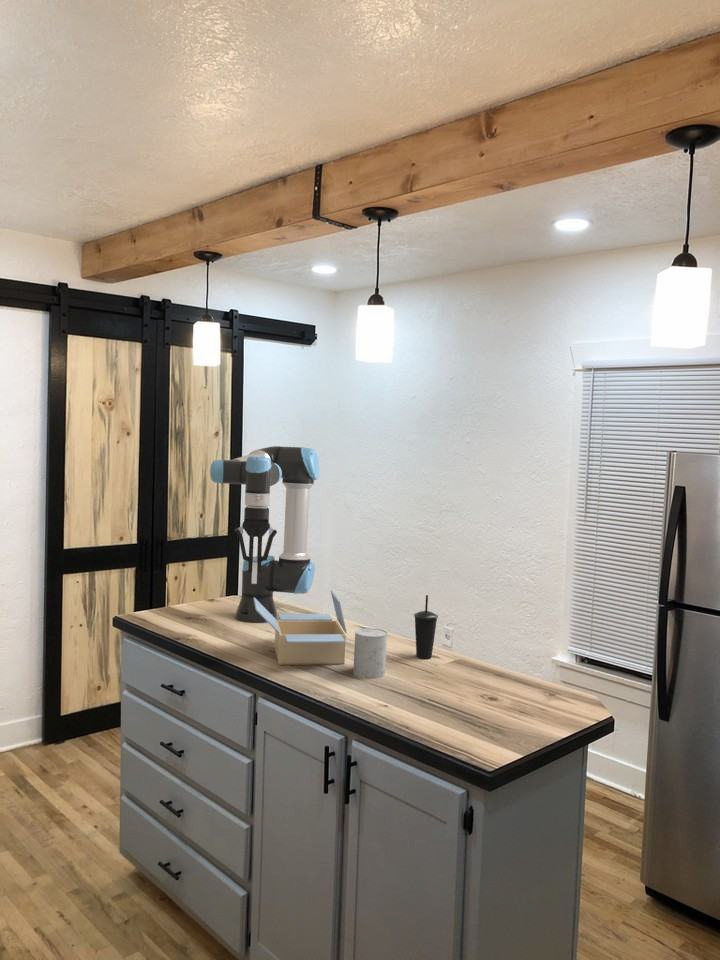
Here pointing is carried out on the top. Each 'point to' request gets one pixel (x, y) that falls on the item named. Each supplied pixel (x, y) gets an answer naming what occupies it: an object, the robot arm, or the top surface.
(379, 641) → the speckled concrete cylinder
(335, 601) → the flap
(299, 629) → the carton
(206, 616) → the top surface
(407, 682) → the top surface
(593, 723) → the top surface
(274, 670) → the top surface
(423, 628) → the drinking cup
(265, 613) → the flap
